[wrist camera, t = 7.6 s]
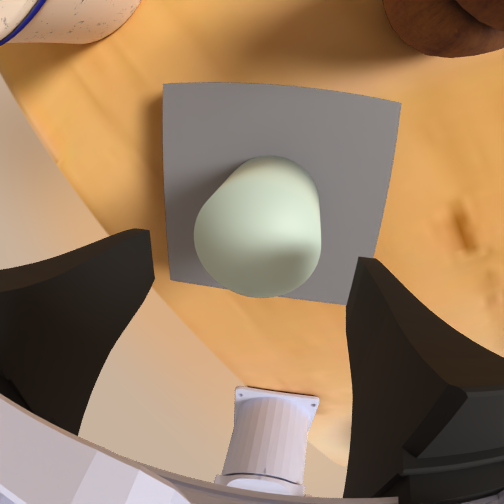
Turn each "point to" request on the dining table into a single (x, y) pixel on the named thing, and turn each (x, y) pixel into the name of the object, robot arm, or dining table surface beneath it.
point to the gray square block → (288, 146)
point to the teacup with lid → (62, 20)
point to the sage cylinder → (261, 228)
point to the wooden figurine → (448, 25)
